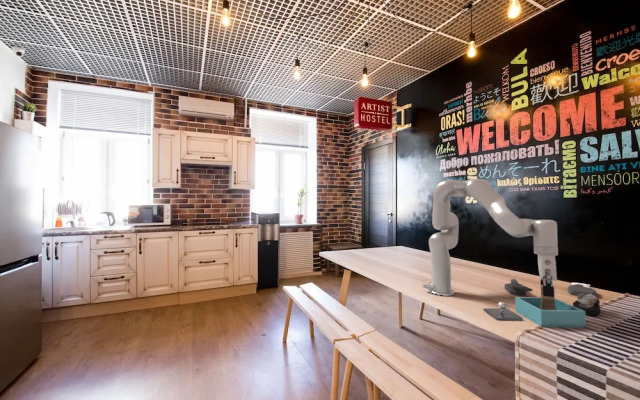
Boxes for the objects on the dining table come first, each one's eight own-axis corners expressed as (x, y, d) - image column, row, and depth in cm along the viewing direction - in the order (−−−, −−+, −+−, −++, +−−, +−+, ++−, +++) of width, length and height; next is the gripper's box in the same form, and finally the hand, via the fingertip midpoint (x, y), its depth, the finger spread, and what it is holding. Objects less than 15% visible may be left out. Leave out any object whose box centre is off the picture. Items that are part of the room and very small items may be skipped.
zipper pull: (511, 287, 132) (503, 275, 154) (512, 301, 132) (503, 287, 154) (534, 289, 128) (522, 276, 150) (535, 304, 128) (523, 289, 150)
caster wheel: (584, 322, 113) (566, 309, 123) (615, 317, 111) (595, 305, 121) (581, 307, 113) (564, 295, 122) (613, 302, 111) (593, 291, 120)
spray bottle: (568, 295, 139) (566, 285, 158) (598, 300, 132) (593, 288, 151) (568, 289, 139) (566, 280, 158) (598, 293, 132) (593, 283, 151)
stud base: (496, 320, 111) (496, 306, 111) (483, 310, 120) (483, 297, 121) (522, 320, 110) (522, 306, 110) (507, 310, 120) (507, 298, 120)
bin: (541, 326, 104) (541, 310, 104) (515, 311, 119) (515, 297, 119) (585, 327, 103) (585, 311, 103) (553, 311, 118) (553, 297, 118)
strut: (557, 319, 107) (556, 288, 108) (540, 317, 110) (539, 286, 111) (556, 315, 112) (554, 285, 112) (539, 312, 115) (538, 283, 115)
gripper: (561, 254, 102) (562, 300, 102) (554, 248, 117) (556, 288, 116) (535, 252, 107) (537, 297, 106) (532, 246, 121) (533, 286, 120)
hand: (547, 292), depth 111 cm, fingers open, 9 cm apart
